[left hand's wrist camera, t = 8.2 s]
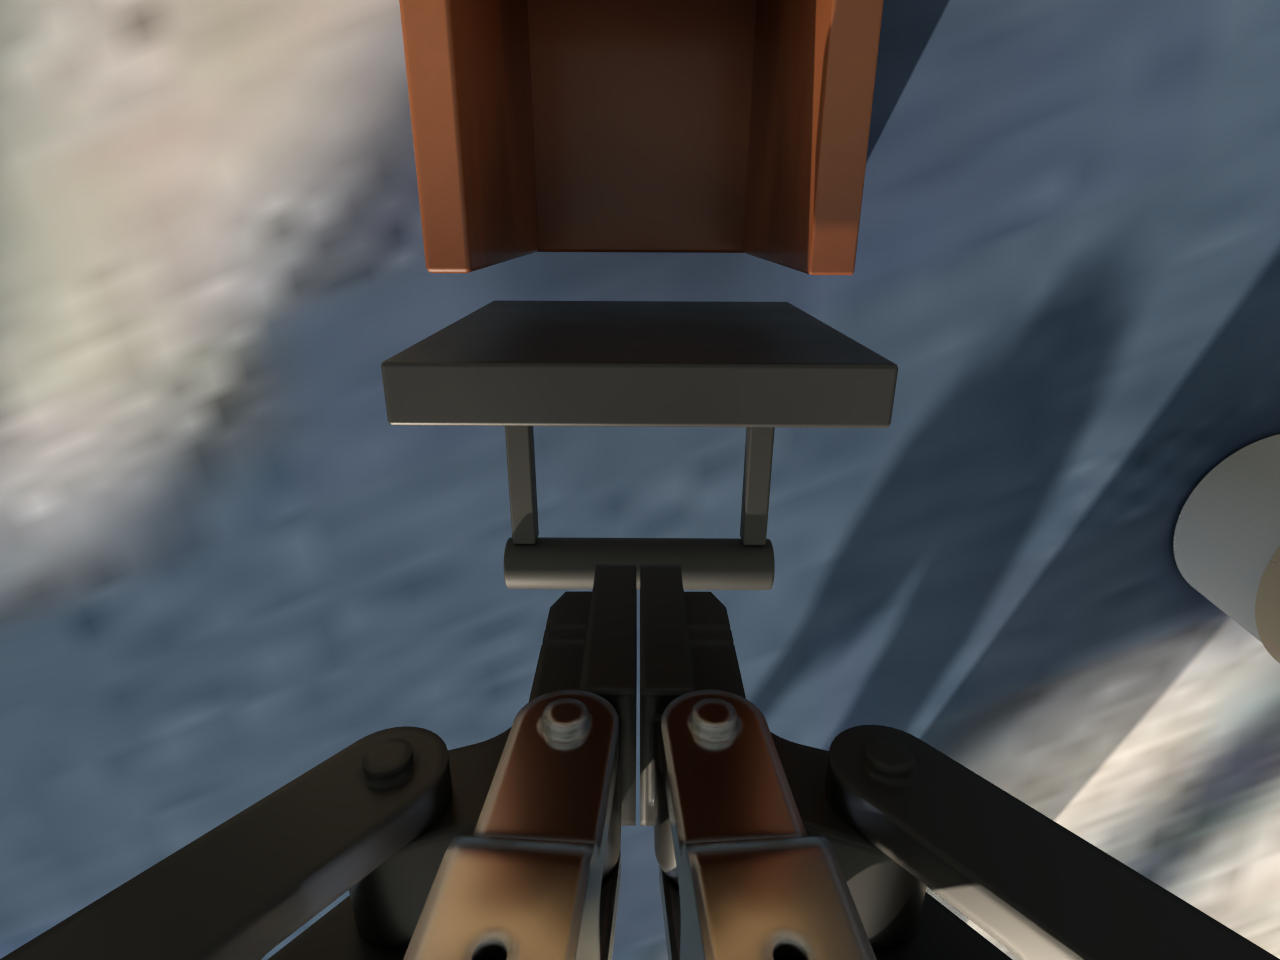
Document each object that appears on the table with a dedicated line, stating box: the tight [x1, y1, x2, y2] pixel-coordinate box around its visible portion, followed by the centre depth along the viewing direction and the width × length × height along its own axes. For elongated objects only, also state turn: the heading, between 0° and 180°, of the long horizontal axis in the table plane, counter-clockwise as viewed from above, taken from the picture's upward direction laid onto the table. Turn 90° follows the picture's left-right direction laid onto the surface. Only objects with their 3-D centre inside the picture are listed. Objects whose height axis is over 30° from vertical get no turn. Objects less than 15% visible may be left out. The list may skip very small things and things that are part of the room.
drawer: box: [381, 0, 898, 590], centre depth 15 cm, size 23×9×10 cm, turn 0°
